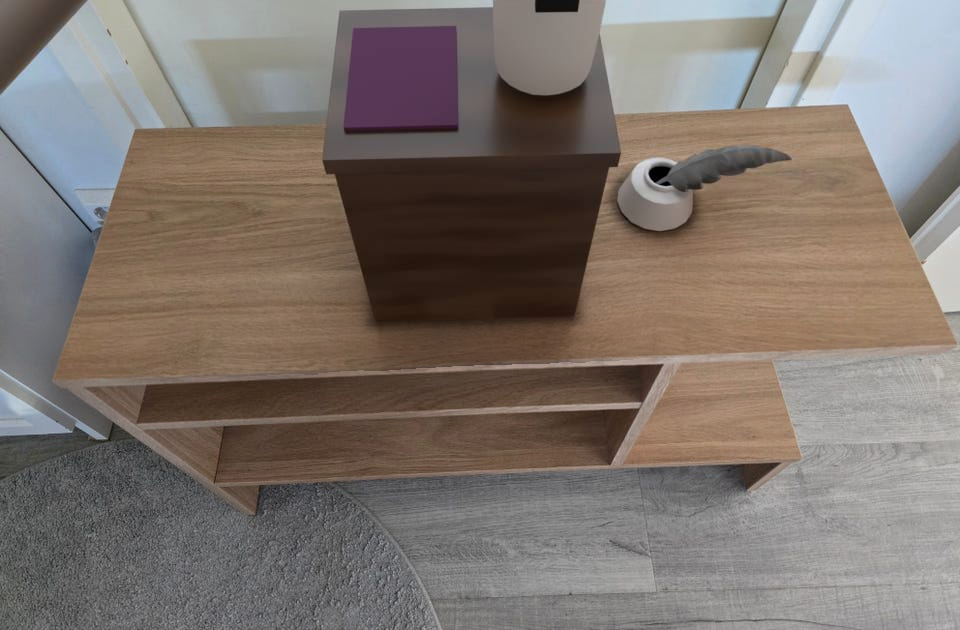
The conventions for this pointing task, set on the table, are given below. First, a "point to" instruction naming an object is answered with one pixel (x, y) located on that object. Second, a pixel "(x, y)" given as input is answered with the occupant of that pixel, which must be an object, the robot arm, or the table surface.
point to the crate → (473, 185)
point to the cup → (545, 45)
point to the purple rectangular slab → (402, 79)
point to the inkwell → (683, 183)
